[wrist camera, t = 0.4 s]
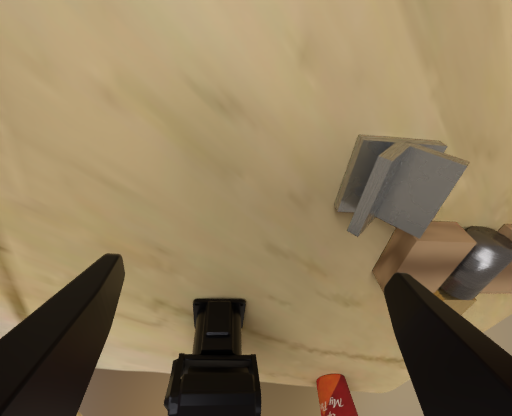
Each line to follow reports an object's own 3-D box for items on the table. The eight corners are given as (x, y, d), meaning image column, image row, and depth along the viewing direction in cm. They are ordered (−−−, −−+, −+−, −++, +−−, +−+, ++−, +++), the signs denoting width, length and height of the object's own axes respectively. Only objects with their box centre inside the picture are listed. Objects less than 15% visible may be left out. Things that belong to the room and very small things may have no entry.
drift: (426, 303, 38) (444, 331, 35) (400, 303, 37) (415, 331, 34) (454, 271, 34) (476, 300, 30) (424, 271, 33) (444, 299, 30)
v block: (402, 208, 26) (427, 239, 23) (334, 204, 26) (349, 236, 22) (439, 140, 22) (477, 166, 19) (358, 134, 21) (382, 160, 18)
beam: (506, 273, 34) (526, 293, 32) (372, 270, 32) (383, 292, 30) (555, 226, 29) (583, 246, 27) (401, 219, 27) (416, 240, 25)
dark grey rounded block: (458, 268, 33) (485, 300, 30) (426, 268, 33) (448, 300, 29) (495, 226, 29) (530, 257, 25) (458, 225, 28) (489, 256, 25)
